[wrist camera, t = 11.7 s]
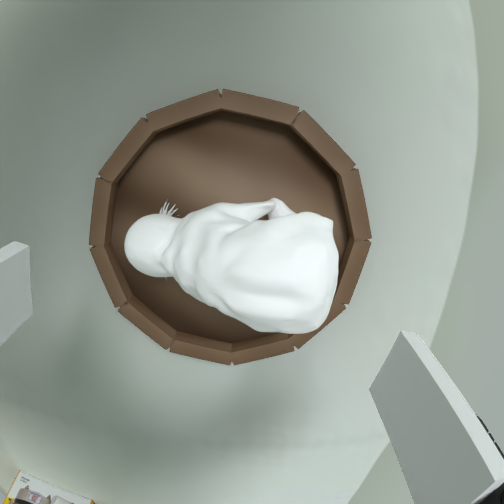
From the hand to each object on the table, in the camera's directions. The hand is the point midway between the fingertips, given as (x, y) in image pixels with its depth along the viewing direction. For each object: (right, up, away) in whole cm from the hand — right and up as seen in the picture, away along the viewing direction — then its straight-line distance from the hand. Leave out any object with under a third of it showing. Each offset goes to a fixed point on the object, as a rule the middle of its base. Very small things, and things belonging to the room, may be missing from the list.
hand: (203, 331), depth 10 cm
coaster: (0, +4, +12) cm, 13 cm away
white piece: (0, +3, +11) cm, 12 cm away
